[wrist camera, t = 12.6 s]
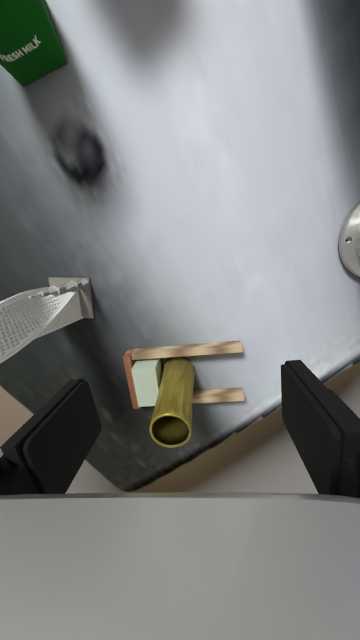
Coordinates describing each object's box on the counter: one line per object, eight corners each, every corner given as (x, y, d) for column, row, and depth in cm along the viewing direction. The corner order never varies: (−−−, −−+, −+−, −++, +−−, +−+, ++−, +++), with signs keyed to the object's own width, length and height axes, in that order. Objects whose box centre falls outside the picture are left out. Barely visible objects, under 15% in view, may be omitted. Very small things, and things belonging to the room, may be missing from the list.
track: (240, 340, 37) (243, 348, 34) (241, 392, 40) (245, 403, 37) (128, 349, 39) (122, 357, 36) (137, 397, 42) (133, 408, 39)
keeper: (159, 355, 39) (155, 368, 34) (164, 389, 41) (161, 405, 36) (138, 357, 39) (131, 369, 35) (144, 391, 41) (138, 406, 37)
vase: (201, 374, 39) (205, 436, 26) (176, 391, 41) (167, 458, 27) (181, 350, 38) (173, 402, 25) (156, 368, 40) (135, 426, 26)
